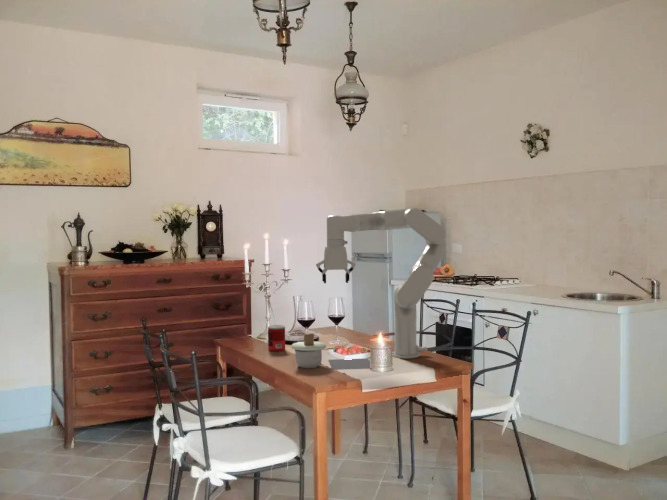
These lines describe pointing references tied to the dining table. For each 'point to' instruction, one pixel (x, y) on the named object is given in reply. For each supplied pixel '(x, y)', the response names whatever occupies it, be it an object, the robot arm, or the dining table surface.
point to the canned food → (276, 338)
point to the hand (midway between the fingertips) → (335, 282)
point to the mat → (349, 364)
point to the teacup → (308, 358)
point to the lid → (309, 344)
